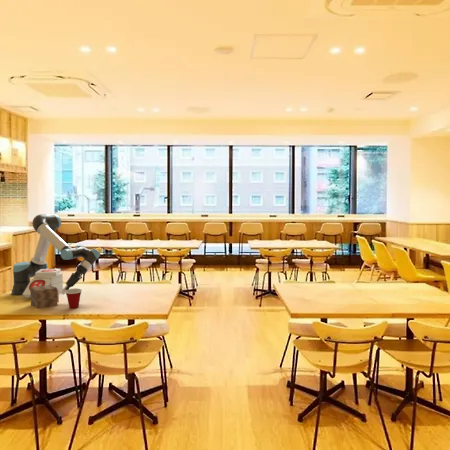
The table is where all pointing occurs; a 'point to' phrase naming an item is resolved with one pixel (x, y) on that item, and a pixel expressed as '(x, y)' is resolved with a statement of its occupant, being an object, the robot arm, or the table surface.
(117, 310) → the table surface
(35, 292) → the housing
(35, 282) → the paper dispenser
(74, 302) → the plastic cup
